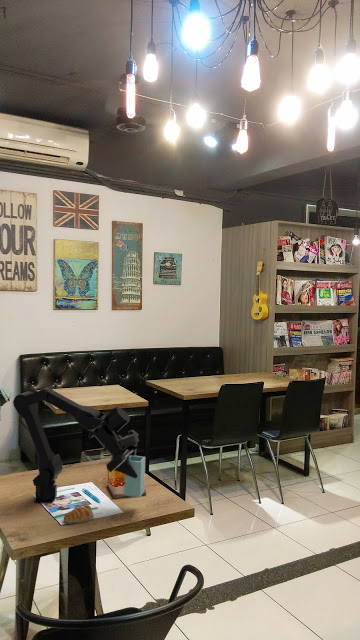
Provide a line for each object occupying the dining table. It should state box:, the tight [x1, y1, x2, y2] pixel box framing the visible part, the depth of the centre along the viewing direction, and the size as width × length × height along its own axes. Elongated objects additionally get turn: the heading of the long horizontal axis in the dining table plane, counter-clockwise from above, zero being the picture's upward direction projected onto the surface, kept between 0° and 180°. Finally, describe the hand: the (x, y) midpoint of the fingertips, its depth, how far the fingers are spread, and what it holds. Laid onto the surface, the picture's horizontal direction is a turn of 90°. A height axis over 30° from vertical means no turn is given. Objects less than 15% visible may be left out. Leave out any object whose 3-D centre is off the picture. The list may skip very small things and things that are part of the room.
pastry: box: [63, 504, 95, 525], centre depth 159 cm, size 9×7×4 cm
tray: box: [107, 482, 147, 500], centre depth 183 cm, size 12×12×2 cm
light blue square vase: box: [124, 455, 146, 498], centre depth 167 cm, size 6×6×12 cm
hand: (138, 474), depth 166 cm, fingers closed on light blue square vase, 5 cm apart
